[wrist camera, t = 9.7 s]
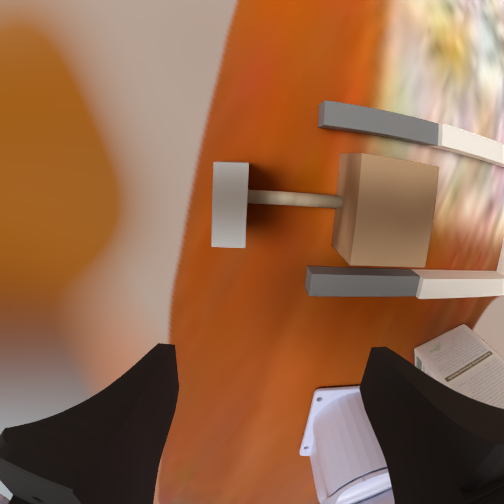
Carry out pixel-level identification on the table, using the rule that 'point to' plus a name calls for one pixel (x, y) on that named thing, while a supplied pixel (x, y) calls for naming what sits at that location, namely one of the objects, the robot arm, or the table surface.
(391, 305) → the table surface
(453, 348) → the syrup box
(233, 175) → the lopsided dumbbell
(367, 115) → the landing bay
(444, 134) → the frame
